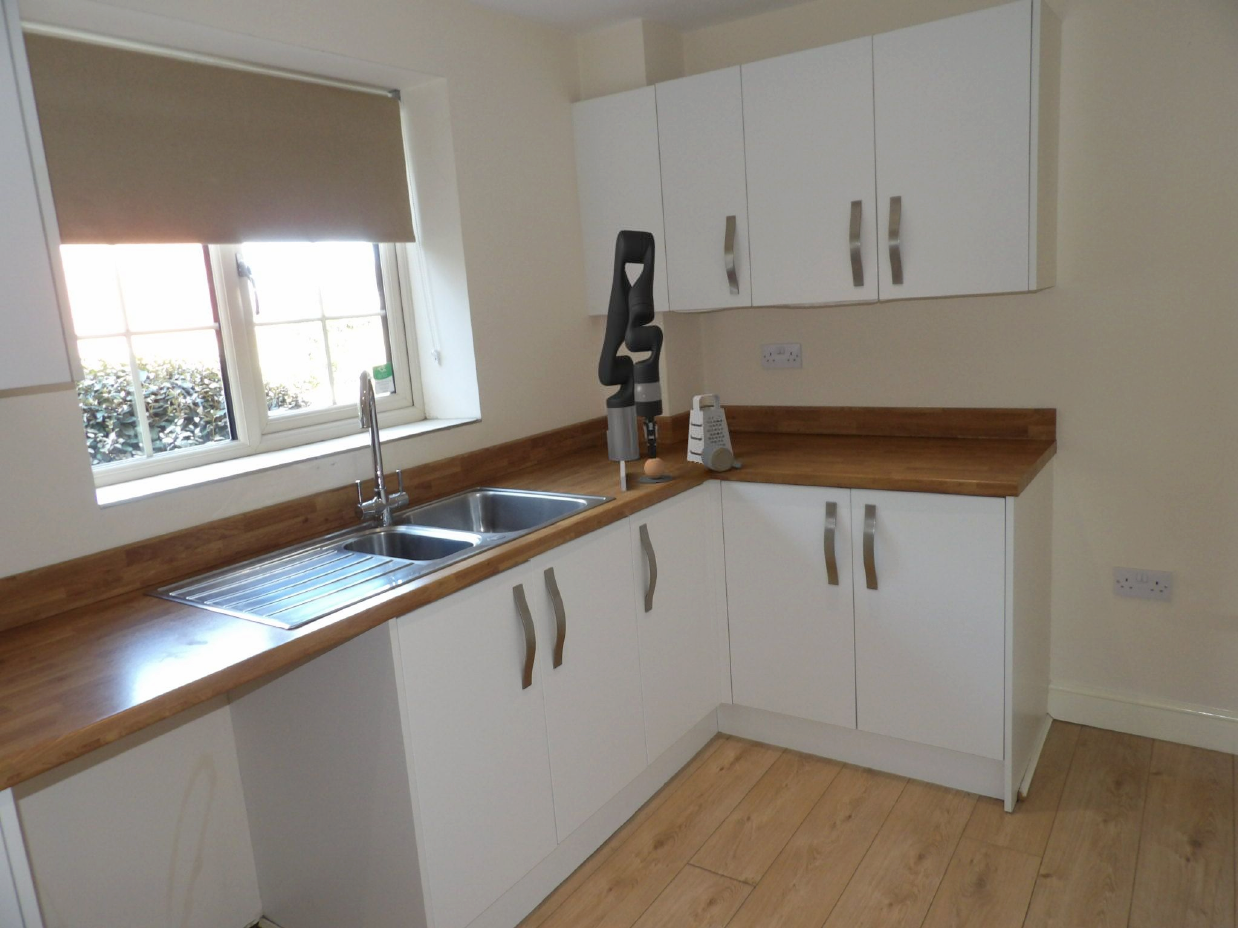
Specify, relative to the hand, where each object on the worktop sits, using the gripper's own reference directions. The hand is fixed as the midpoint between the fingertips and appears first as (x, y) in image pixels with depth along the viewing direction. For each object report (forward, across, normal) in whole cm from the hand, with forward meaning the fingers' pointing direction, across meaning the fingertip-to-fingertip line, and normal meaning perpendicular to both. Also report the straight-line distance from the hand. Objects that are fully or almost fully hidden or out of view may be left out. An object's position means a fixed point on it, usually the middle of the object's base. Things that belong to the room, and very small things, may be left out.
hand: (652, 455), depth 252 cm
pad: (+7, 0, 0) cm, 7 cm away
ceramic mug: (+7, +7, -20) cm, 22 cm away
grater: (+7, +24, -18) cm, 31 cm away
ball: (+4, 0, 0) cm, 4 cm away
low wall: (+7, 0, +9) cm, 11 cm away
